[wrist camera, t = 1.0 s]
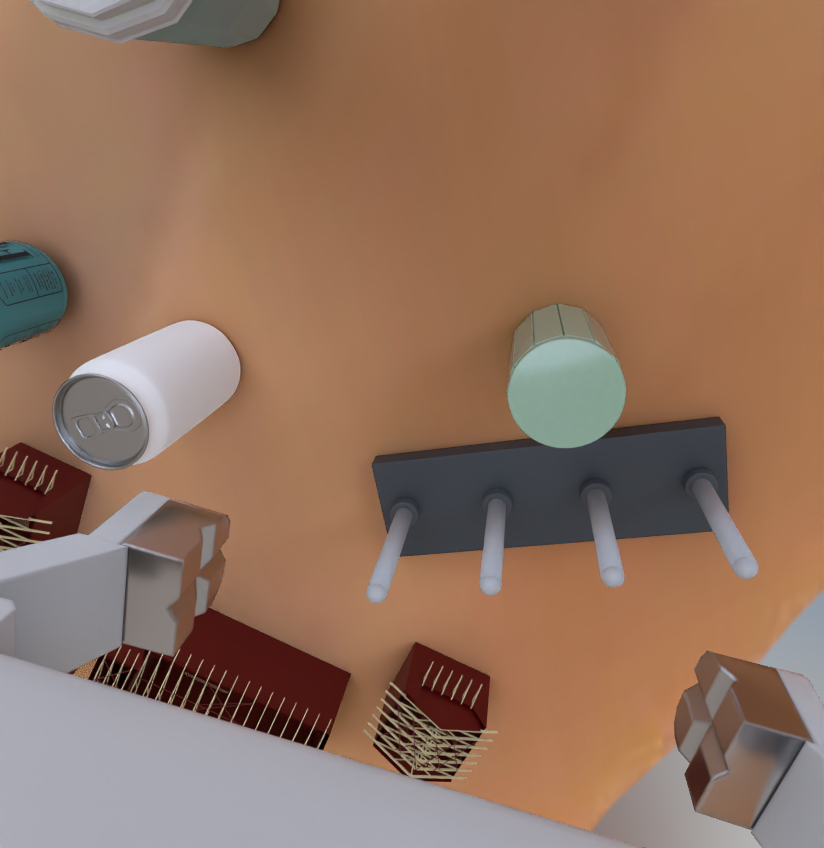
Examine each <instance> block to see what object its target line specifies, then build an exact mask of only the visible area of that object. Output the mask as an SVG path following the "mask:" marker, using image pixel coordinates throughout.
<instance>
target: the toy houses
mask: <svg viewBox="0 0 824 848" xmlns="http://www.w3.org/2000/svg"><path fill="white" fill-rule="evenodd" d="M7 449H8V447H6V449H5V451H4V452H2V453H0V551H4V550H9V549H13V548H17V547H22V546H26V545H30V544H34V543H39V542H43V541H47V540H51V539H56V538H60V537H64V536H68V535H73V534H77V530H78V526H79V522H80V518H81V514H82V510H83V506H84V502H85V498H86V495H87V491H88V487H89V483H90V479H91V475H90V474H88V473H85V472H83V471H81V470H79V469H77V468H75V467H73V466H70V465H68V464H66V463H64V462H62V461H60V460H58V459H55V458H53V457H51V456H49V455H47V454H45V453H42V452H40V451H38V450H36V449H34V448H32V447H30V446H27V445H25V444H23V443H19V444H17V445H15V446H13V447H12V448H10V449H8V450H7ZM9 517H11V518H17V519H23V520H30V523H29V527H28V528H27V527H25V526H23V525H21V524H19V523H17V522H14V521H12V520H10V519H9ZM9 521H10V522H12V523H14V524H16V525H18V526H20V527H23V528H20V527H18V526H16V525H14V524H12V523H10V522H9ZM77 669H78V668H77ZM77 669H75V670H73V671H71V672H69V673H68V674H72V675H73V674H74V673H75V671H76V670H77ZM185 672H188V673H190V674H192V675H194V676H195V677H198V678H201V679H203V680H205V681H207V682H206V684H208V682H209V683H211V684H213V685H216V686H218V688H217V690H215V689H213V688H211V687H210V685H209V684H208V685H209V686H206V684H205V685H204V684H202V683H200V682H198V681H196V680H195V677H194V679H191V678H189V677H187V676H185V675H184V673H185ZM350 675H351V674H350V673H348V672H345V671H343V670H341V669H339V668H337V667H335V666H333V665H330V664H328V663H326V662H324V661H322V660H320V659H317V658H315V657H313V656H311V655H309V654H307V653H305V652H302V651H300V650H298V649H296V648H294V647H292V646H290V645H287V644H285V643H283V642H281V641H279V640H277V639H274V638H272V637H270V636H268V635H266V634H264V633H262V632H259V631H257V630H255V629H253V628H251V627H249V626H246V625H244V624H242V623H240V622H238V621H236V620H234V619H231V618H229V617H227V616H225V615H223V614H221V613H218V612H216V611H214V610H212V609H210V608H208V609H207V611H206V612H205V613H203V614H201V615H198V616H195V617H194V625H193V630H192V632H191V633H190V634H189V636H188V637H187V638H186V640H185V641H184V643H183V644H182V645H181V647H180V648H179V649H178V651H177V652H176V653H175V655H174V656H173V657H172V656H168V655H165V654H161V653H157V652H153V651H150V650H146V649H142V648H138V647H135V646H131V645H127V644H123V643H122V645H121V646H120V647H118V648H116V649H114V650H112V651H110V652H108V653H106V654H104V655H102V656H100V657H99V658H98V660H97V662H96V664H95V666H94V668H93V670H92V672H91V674H90V676H89V679H88V680H91V681H95V682H98V683H101V684H105V685H108V686H111V687H115V688H118V689H121V690H125V691H128V692H131V693H134V694H138V695H141V696H144V697H148V698H151V699H154V700H158V701H161V702H164V703H168V704H171V705H174V706H178V707H181V708H184V709H187V710H191V711H194V712H197V713H201V714H204V715H207V716H211V717H214V718H217V719H221V720H224V721H227V722H231V723H234V724H237V725H240V726H244V727H247V728H250V729H254V730H257V731H260V732H264V733H267V734H270V735H274V736H277V737H280V738H283V739H287V740H290V741H293V742H297V743H300V744H303V745H307V746H310V747H313V748H317V749H320V750H323V749H324V747H325V744H326V742H327V740H328V738H329V735H330V732H331V729H332V727H333V724H334V721H335V718H336V715H337V712H338V709H339V706H340V704H341V701H342V698H343V695H344V692H345V689H346V686H347V683H348V681H349V678H350ZM489 683H490V676H488V675H486V674H483V673H481V672H479V671H477V670H475V669H473V668H471V667H468V666H466V665H464V664H462V663H460V662H458V661H455V660H453V659H451V658H449V657H447V656H445V655H443V654H440V653H438V652H436V651H434V650H432V649H430V648H428V647H425V646H423V645H421V644H419V643H417V642H415V644H414V646H413V648H412V649H411V651H410V653H409V655H408V657H407V658H406V660H405V662H404V664H403V666H402V667H401V669H400V671H399V673H398V674H397V676H396V678H395V680H394V682H393V683H392V682H390V684H391V687H390V689H389V691H387V690H386V691H385V692H386V693H387V695H386V698H385V700H384V699H383V698H381V699H380V700H381V701H382V702H383V703H384V706H383V710H381V709H380V708H379V707H378V706H377V707H376V708H377V709H378V710H379V711H380V712H381V717H380V720H379V719H378V718H377V717H376V716H375V715H374V714H372V715H371V716H373V717H374V718H375V719H376V720H377V721H378V722H379V725H378V728H377V729H376V728H375V727H374V726H373V725H372V724H371V723H370V722H368V723H367V724H368V725H369V726H370V727H372V728H373V729H374V730H375V731H376V736H375V739H374V738H373V737H372V736H371V735H370V734H369V733H368V732H367V731H366V730H365V729H364V730H363V732H364V733H366V734H367V735H368V736H369V737H370V738H371V739H372V740H373V741H374V743H373V746H374V747H375V748H376V749H377V750H378V751H379V752H380V753H381V754H382V755H383V756H384V757H385V758H386V759H387V760H388V761H389V762H390V763H391V764H392V765H393V766H394V767H395V768H396V769H397V770H398V771H399V772H400V773H401V774H403V775H406V776H409V777H413V778H416V779H419V780H423V781H436V782H451V779H467V777H466V776H454V775H455V773H456V772H458V771H459V772H472V769H459V767H460V766H461V764H477V762H471V761H464V760H465V758H466V757H467V756H472V757H482V754H469V752H470V751H471V749H487V747H486V746H474V744H475V743H476V742H477V741H492V742H493V740H492V739H487V738H479V737H480V735H481V734H482V733H495V734H498V732H497V731H490V730H484V729H485V728H486V724H487V710H488V697H489ZM219 687H220V688H222V689H224V690H226V691H229V694H228V695H226V694H224V693H221V692H219V691H218V689H219ZM404 697H405V698H406V699H407V700H406V699H404Z"/></svg>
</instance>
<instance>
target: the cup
mask: <svg viewBox="0 0 824 848" xmlns="http://www.w3.org/2000/svg"><path fill="white" fill-rule="evenodd" d="M506 393H507V398H508V404H509V408H510V412H511V414H512V416H513V418H514V420H515V422H516V423H517V425H518V426H519V427H520V429H521V430H522V431H523V432H524V433H525V434H526V435H528V436H529V437H530V438H532V439H534V440H535V441H537V442H539V443H541V444H544V445H547V446H551V447H556V448H575V447H580V446H584V445H587V444H589V443H592V442H594V441H596V440H597V439H599V438H601V437H602V436H603V435H605V434H606V433H607V432H608V431H609V430H610V429H611V428H612V427H613V426H614V425H615V423H616V422H617V420H618V419H619V417H620V415H621V413H622V410H623V408H624V404H625V400H626V384H625V380H624V376H623V373H622V371H621V367H620V364H619V361H618V359H617V357H616V355H615V353H614V350H613V348H612V346H611V344H610V342H609V340H608V338H607V336H606V334H605V331H604V329H603V327H602V326H601V324H600V323H599V322H598V321H597V320H595V319H594V318H593V317H592V316H591V315H590V314H589V313H588V312H586V311H585V310H584V309H583V310H582V308H579V307H573V306H568V305H563V304H558V305H557V304H554V305H551V306H548V307H545V308H542V309H539V310H536V311H533V313H531V314H530V315H529V316H528V317H527V318H526V319H525V320H524V321H523V322H522V323H521V325H520V326H519V327H518V328H517V329H516V331H515V333H514V337H513V342H512V346H511V351H510V359H509V370H508V381H507V392H506Z"/></svg>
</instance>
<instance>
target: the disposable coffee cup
mask: <svg viewBox="0 0 824 848" xmlns="http://www.w3.org/2000/svg"><path fill="white" fill-rule="evenodd" d="M30 1H31V2H32V3H33V4H34V5H35V6H36V7H37V8H38V9H39V10H40V11H41V12H42V14H43V15H44V16H45V17H46V18H48V19H50V20H52V21H54V22H56V23H57V24H58V25H59V26H60V27H63V28H67V29H70V30H74V31H77V32H80V33H84V34H87V35H91V36H94V37H98V38H101V39H105V40H108V41H112V42H115V43H118V44H121V43H124V42H127V41H129V40H132V39H137V40H148V41H159V42H171V43H182V44H193V45H204V46H215V47H226V48H231V47H234V46H237V45H240V44H243V43H245V42H248V41H251V40H254V39H257V38H258V37H259V36H260V35H261V33H262V32H263V31H264V29H265V28H266V27H267V26H268V24H269V23H270V22H271V20H272V19H273V18H274V16H275V15H276V14H277V11H278V5H279V0H30Z"/></svg>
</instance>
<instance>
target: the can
mask: <svg viewBox="0 0 824 848" xmlns="http://www.w3.org/2000/svg"><path fill="white" fill-rule="evenodd" d="M240 372H241V369H240V361H239V358H238V355H237V353H236V351H235V349H234V347H233V346H232V344H231V343H230V341H229V340H228V339H227V338H226V336H225V335H224V334H223V333H221V332H220V331H219V330H218V329H216V328H214V327H213V326H211V325H209V324H206V323H203V322H200V321H192V320H188V321H181V322H178V323H175V324H172V325H170V326H167V327H165V328H163V329H160V330H158V331H156V332H153V333H151V334H149V335H146V336H144V337H142V338H139V339H137V340H135V341H133V342H130V343H128V344H126V345H124V346H121V347H119V348H117V349H115V350H112V351H110V352H108V353H106V354H103V355H101V356H99V357H97V358H95V359H92V360H90V361H88V362H87V363H85V364H83V365H82V366H80V367H79V368H78V369H76V370H75V371H74V372H73V374H72V375H71V376H70V378H69V379H68V380H67V381H66V382H64V383H63V384H62V385H61V386H60V388H59V389H58V391H57V393H56V395H55V397H54V401H53V408H52V413H53V421H54V425H55V428H56V430H57V433H58V435H59V437H60V438H61V440H62V442H63V443H64V444H65V446H66V447H67V448H68V449H69V450H70V451H71V452H72V453H73V454H74V455H75V456H76V457H77V458H79V459H80V460H82V461H83V462H85V463H87V464H89V465H91V466H93V467H96V468H100V469H104V470H119V469H123V468H126V467H129V466H131V465H137V464H141V463H144V462H146V461H148V460H150V459H152V458H154V457H155V456H157V455H158V454H160V453H161V452H162V451H164V450H165V449H166V448H168V447H169V446H170V445H172V444H173V443H174V442H175V441H177V440H178V439H179V438H181V437H182V436H183V435H185V434H186V433H187V432H188V431H190V430H191V429H192V428H194V427H195V426H196V425H197V424H199V423H200V422H201V421H203V420H204V419H205V418H206V417H208V416H209V415H210V414H212V413H213V412H214V411H215V410H217V409H218V408H219V407H220V406H222V405H223V404H224V403H225V402H226V401H228V400H229V399H230V398H231V397H232V395H233V394H234V393H235V391H236V389H237V387H238V384H239V381H240Z"/></svg>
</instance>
